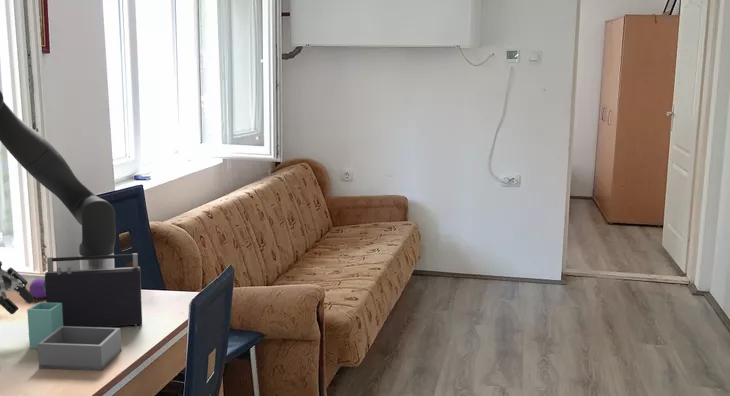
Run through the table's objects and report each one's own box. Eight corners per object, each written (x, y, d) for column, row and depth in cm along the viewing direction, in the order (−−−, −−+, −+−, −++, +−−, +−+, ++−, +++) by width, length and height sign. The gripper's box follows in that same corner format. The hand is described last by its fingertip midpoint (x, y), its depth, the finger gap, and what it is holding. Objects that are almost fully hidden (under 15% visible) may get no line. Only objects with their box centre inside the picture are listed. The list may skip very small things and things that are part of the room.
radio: (142, 319, 205) (139, 250, 202) (142, 326, 200) (139, 255, 197) (48, 326, 199) (44, 255, 195) (45, 333, 194) (41, 260, 190)
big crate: (39, 368, 172) (37, 343, 171) (62, 348, 183) (60, 326, 182) (102, 370, 171) (101, 346, 170) (121, 350, 183) (120, 328, 182)
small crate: (29, 347, 184) (27, 309, 182) (41, 339, 190) (38, 302, 188) (53, 348, 183) (51, 310, 182) (64, 340, 189) (61, 302, 188)
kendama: (99, 284, 225) (28, 284, 218) (99, 301, 226) (28, 302, 220) (100, 275, 230) (30, 275, 223) (99, 292, 232) (30, 293, 225)
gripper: (-30, 258, 176) (19, 305, 177) (1, 244, 190) (47, 288, 191) (-50, 278, 177) (-1, 325, 179) (-17, 263, 191) (28, 307, 193)
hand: (24, 306), depth 185 cm, fingers open, 8 cm apart
